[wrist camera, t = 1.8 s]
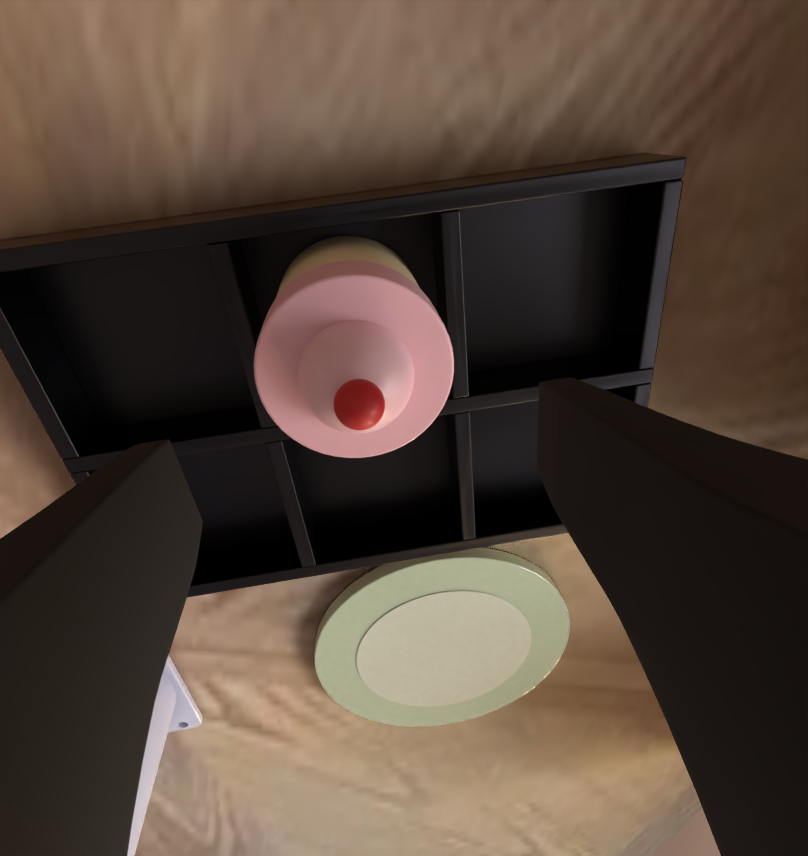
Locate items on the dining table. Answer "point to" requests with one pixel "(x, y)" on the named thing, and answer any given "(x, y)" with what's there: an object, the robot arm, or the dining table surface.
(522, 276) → the black compartment tray
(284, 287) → the cupcake
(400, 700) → the plate
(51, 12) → the dining table surface
